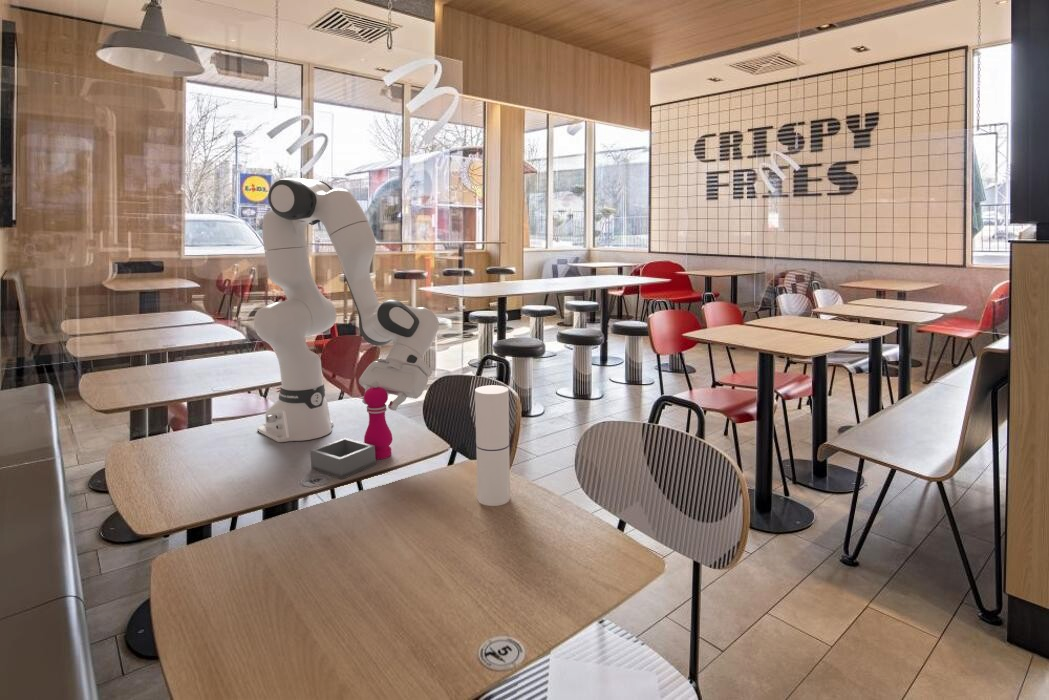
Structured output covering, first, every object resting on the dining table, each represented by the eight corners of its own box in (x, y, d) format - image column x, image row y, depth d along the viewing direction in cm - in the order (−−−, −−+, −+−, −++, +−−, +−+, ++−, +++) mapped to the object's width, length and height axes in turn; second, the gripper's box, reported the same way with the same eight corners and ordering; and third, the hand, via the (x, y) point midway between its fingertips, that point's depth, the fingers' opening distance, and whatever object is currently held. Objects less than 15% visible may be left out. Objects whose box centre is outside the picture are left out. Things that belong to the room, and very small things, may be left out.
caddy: (311, 469, 158) (310, 450, 157) (346, 455, 167) (345, 437, 166) (341, 479, 152) (340, 459, 151) (375, 464, 161) (374, 445, 160)
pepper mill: (396, 450, 170) (393, 378, 166) (388, 460, 163) (384, 385, 159) (370, 449, 171) (366, 377, 167) (361, 459, 164) (356, 384, 160)
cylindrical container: (474, 504, 138) (471, 393, 133) (481, 491, 145) (479, 384, 140) (506, 507, 137) (504, 394, 132) (512, 493, 144) (511, 385, 138)
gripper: (369, 351, 174) (343, 394, 168) (425, 359, 163) (400, 405, 157) (381, 364, 179) (357, 406, 173) (437, 373, 168) (413, 418, 162)
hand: (378, 406), depth 165 cm, fingers open, 8 cm apart
